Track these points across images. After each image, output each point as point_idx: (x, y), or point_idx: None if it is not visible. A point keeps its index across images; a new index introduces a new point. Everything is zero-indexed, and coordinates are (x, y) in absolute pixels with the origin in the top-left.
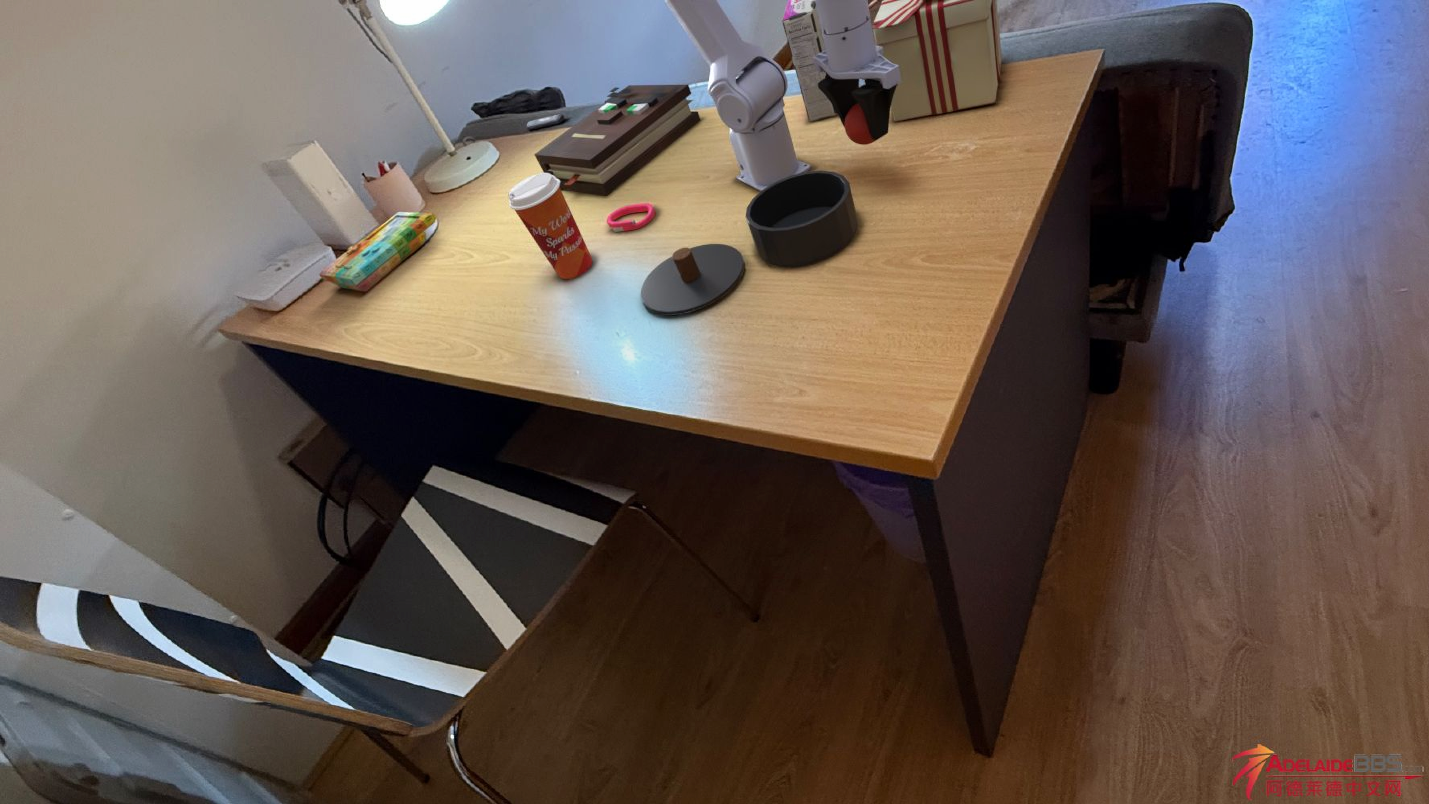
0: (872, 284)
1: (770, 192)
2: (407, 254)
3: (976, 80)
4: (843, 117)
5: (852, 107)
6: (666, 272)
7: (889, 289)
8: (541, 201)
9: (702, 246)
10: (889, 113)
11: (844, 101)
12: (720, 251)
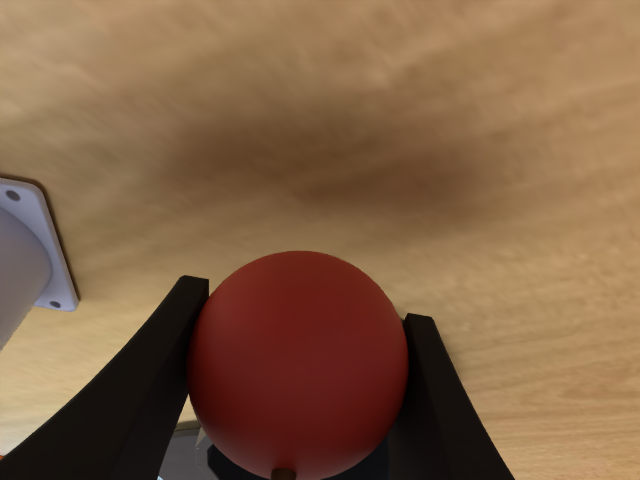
0: (566, 426)
1: (210, 447)
2: None
3: None
4: (183, 405)
5: (235, 462)
6: (185, 475)
7: (607, 428)
8: None
9: (170, 441)
10: (473, 408)
11: (150, 473)
12: None
